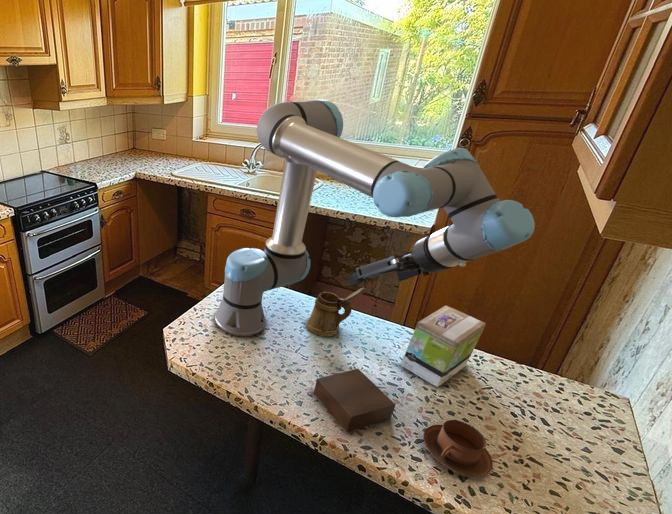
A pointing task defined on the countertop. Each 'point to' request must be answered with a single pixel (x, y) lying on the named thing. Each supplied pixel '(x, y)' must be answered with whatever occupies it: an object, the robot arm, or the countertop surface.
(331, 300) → the wooden mug
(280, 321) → the countertop surface
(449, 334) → the tea box
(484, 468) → the cup and saucer
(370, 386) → the walnut block
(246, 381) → the countertop surface
